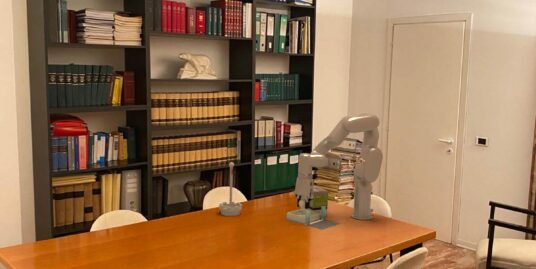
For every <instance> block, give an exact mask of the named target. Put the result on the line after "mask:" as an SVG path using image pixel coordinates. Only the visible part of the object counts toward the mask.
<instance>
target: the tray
mask: <svg viewBox="0 0 536 269" xmlns="http://www.w3.org/2000/svg"><path fill="white" fill-rule="evenodd" d="M305 216H306V210H305V209H301V208H300V209H296V210H292V211H288V212H286V218H287V219H289V220H293V221H297V222H300V223H304V224H305ZM320 218H321V216H320V213H317V212H313V211H310V222H313V221H316V220H320ZM289 220H288V221H289Z"/></svg>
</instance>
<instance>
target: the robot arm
mask: <svg viewBox="0 0 536 269" xmlns="http://www.w3.org/2000/svg"><path fill="white" fill-rule="evenodd" d="M379 126H380V119H379V117H378V116H377V115H375V114H372V113H367V112H364V113H360V114H359V115H358V117H356V116H355V117H353V116H344V117H342V118H341V119H340V120H339V121H338V123H337V124H336V125H335V126H334V127H333V129H332V130H331V132H330V133H329V134H328V135H327V136H326V137H325V138H323V139H322V140H321V141H319V143H318V144H317V145H316V146H315V147H314V148H313V150H312V151H311V152H310V153H307V152H305V153H304V152H303V153H302V152H301V153H300V154H299V155H298V168H297V169H298V171H297V172H298V173H297V178H296V182H295V187H294V188H295V190H294V191H293V193H292V194H293V195H294V196H295V198H296V200H297V202H296V205H297V206H296V207H297V208H299V207H300V206H299V201H300V200H301V198H302V196H305V197H306V202H305V209H309V207H310V201H311V200H312V199H313V198H315V196H314V186H315V185H314V180H313V177H314V175H313V172H312V171H313V168H324V167H326V166H327V164H328V157H326V155H327V153H328V152H330V151H331V150H332V149H334V148H337V147H339V146H341V145H342V143H343V142H344V141H345V140H346V138H348V136H349V135H350V134H351V133H352V134H357V133H363V136H362V137H363V138H362V144H361V148H360V151H359V155H360V158H361V159H362V160H363V161H364V162H359V163H357V164H356V166H355V167H354V169H353V178H354V179H353V180H354V193H353V212H351V214H350V218H352V219H355V220H360V221H369V220H372V219H373V215H372V214H371V213H372V212H374V211H375V210H374V208H371V202H372V199H371V198H372V183H373V184H374V182H376V181H377V179H378V178H379V175H380V172H381V168H382V164H383V158H384V156H383V154H384V153H383V152H382V150H381V148H379V147H378V145H379V139H380V133H379ZM310 196H311V197H310ZM300 208H301V207H300Z"/></svg>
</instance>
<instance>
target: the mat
mask: <svg viewBox="0 0 536 269" xmlns="http://www.w3.org/2000/svg"><path fill="white" fill-rule="evenodd" d="M284 220H286V221H289V222H292V223H296V224H300V225H303V226H306V227H310V228H314V229H318V230H321V231H323V230H326V229H329V228H331V227H335V226H338V225H341V223H340V222H336V221H333V220H328V219H326V218H325V220H321V217H320V220H316V221H313V222H310V225H305V224H304V223H300V222H297V221H293V220H289V219H287V217H286V218H284Z"/></svg>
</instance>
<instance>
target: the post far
mask: <svg viewBox="0 0 536 269" xmlns="http://www.w3.org/2000/svg"><path fill="white" fill-rule="evenodd" d="M325 214H326V206H321V216H320V218H321V220H325V219H326V215H325Z"/></svg>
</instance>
